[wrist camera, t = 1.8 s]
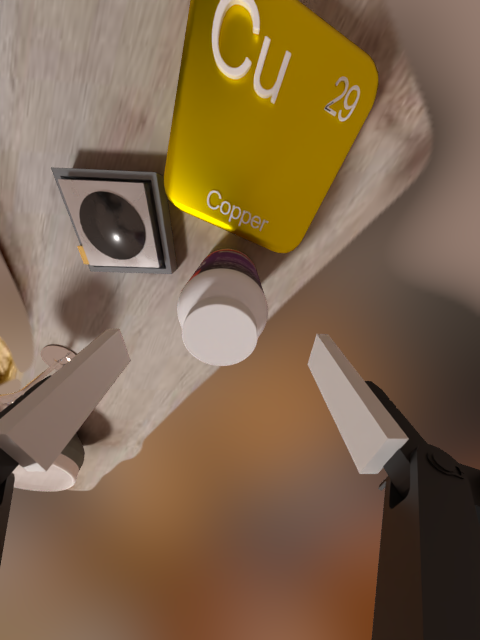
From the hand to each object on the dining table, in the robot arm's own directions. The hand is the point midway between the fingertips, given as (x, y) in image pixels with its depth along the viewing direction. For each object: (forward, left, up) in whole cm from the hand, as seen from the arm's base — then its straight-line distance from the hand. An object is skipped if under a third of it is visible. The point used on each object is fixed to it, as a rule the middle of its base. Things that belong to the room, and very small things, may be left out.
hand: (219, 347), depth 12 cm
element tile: (-13, +3, -16) cm, 21 cm away
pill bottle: (0, 0, -15) cm, 15 cm away
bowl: (+41, -42, -15) cm, 61 cm away
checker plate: (-6, -12, -14) cm, 19 cm away
